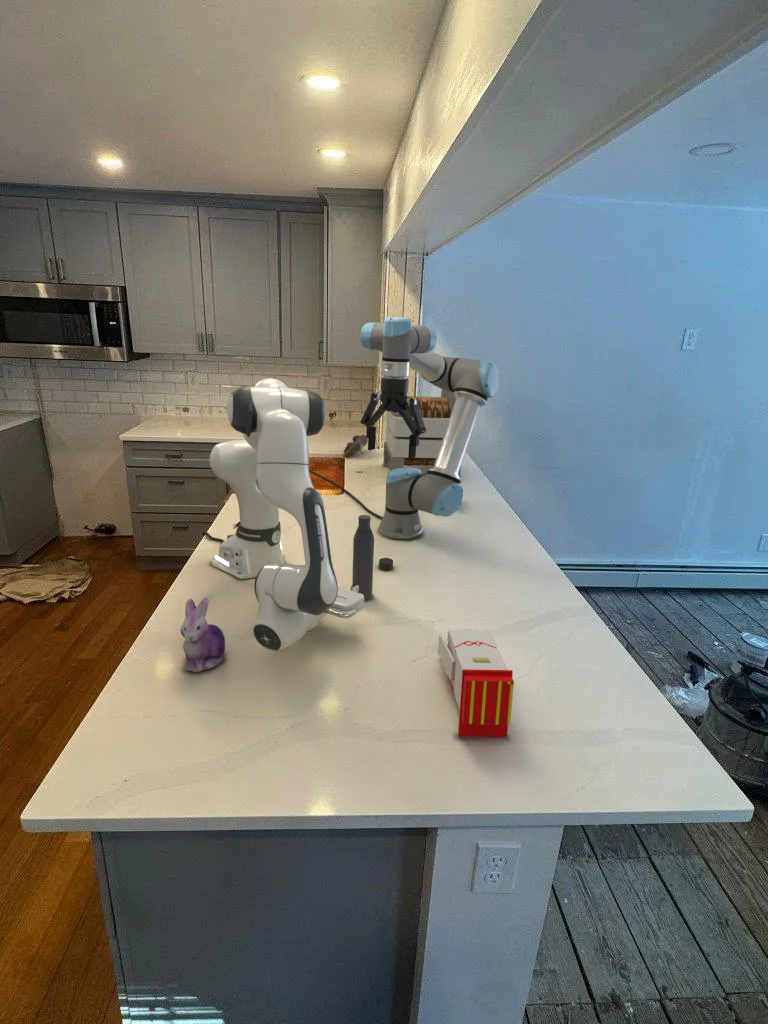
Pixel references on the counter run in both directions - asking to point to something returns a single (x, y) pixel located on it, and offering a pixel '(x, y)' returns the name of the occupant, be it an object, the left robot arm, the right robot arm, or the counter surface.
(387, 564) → the cap
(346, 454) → the grey lumpy piece
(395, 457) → the white wooden crate
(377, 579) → the counter surface
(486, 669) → the toy
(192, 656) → the figurine
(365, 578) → the bottle
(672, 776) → the counter surface
